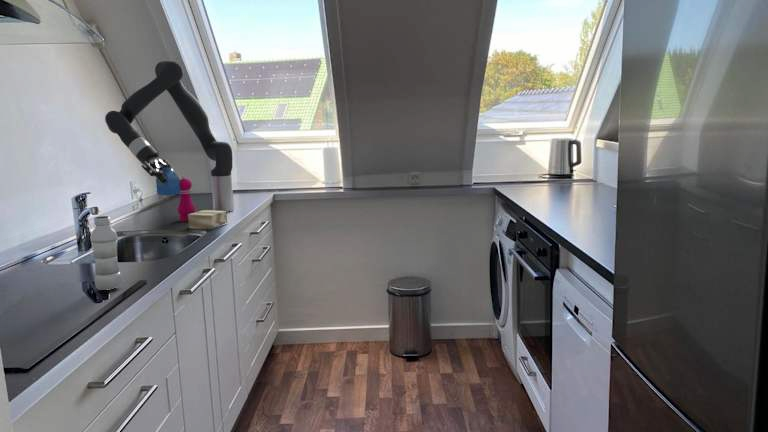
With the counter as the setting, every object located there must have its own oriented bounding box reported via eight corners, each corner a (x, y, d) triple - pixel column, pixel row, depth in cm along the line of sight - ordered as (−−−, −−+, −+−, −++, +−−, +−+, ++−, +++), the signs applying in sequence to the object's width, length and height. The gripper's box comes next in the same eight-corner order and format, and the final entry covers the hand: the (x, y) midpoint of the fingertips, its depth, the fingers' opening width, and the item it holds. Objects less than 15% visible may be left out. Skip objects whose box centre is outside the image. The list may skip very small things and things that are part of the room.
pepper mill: (190, 222, 243) (186, 176, 239) (175, 221, 245) (171, 176, 241) (198, 218, 250) (195, 174, 246) (184, 218, 252) (180, 174, 248)
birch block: (205, 223, 241) (204, 209, 240) (227, 224, 238) (226, 211, 236) (189, 228, 230) (188, 214, 229) (212, 230, 227) (211, 215, 226)
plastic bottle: (101, 286, 154) (93, 215, 150) (126, 285, 154) (119, 214, 151) (91, 294, 148) (82, 220, 144) (117, 293, 148) (110, 219, 144)
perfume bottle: (180, 193, 229) (178, 163, 227) (168, 195, 223) (166, 165, 221) (169, 192, 231) (166, 163, 229) (157, 194, 226) (154, 164, 224)
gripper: (136, 145, 219) (165, 176, 218) (159, 143, 232) (186, 172, 232) (126, 159, 221) (154, 189, 220) (149, 156, 234) (176, 184, 234)
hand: (171, 180), depth 226 cm, fingers closed on perfume bottle, 7 cm apart
